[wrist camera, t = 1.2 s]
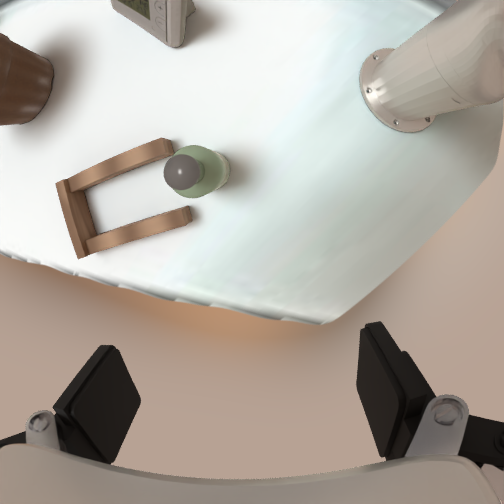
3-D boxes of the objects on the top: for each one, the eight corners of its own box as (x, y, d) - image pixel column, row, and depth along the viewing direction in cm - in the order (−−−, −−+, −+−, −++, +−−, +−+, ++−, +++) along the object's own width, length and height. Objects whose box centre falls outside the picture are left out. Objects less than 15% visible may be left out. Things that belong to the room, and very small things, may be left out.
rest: (170, 140, 34) (158, 136, 30) (192, 220, 37) (183, 226, 33) (73, 180, 36) (55, 183, 31) (93, 250, 39) (78, 259, 34)
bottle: (224, 146, 34) (202, 133, 21) (234, 184, 36) (219, 193, 22) (186, 158, 35) (145, 152, 21) (196, 195, 36) (161, 210, 23)
